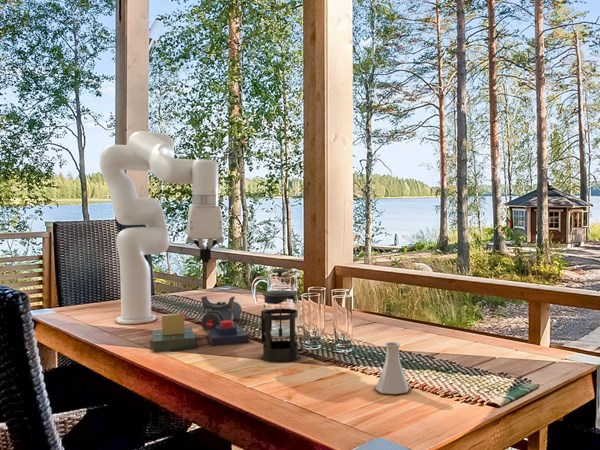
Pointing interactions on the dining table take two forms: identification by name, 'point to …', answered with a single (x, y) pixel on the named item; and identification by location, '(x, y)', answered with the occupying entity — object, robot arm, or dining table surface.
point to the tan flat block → (173, 324)
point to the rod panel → (173, 341)
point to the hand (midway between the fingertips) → (205, 262)
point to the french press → (280, 349)
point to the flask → (392, 372)
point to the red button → (226, 323)
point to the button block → (227, 335)
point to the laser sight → (219, 312)
